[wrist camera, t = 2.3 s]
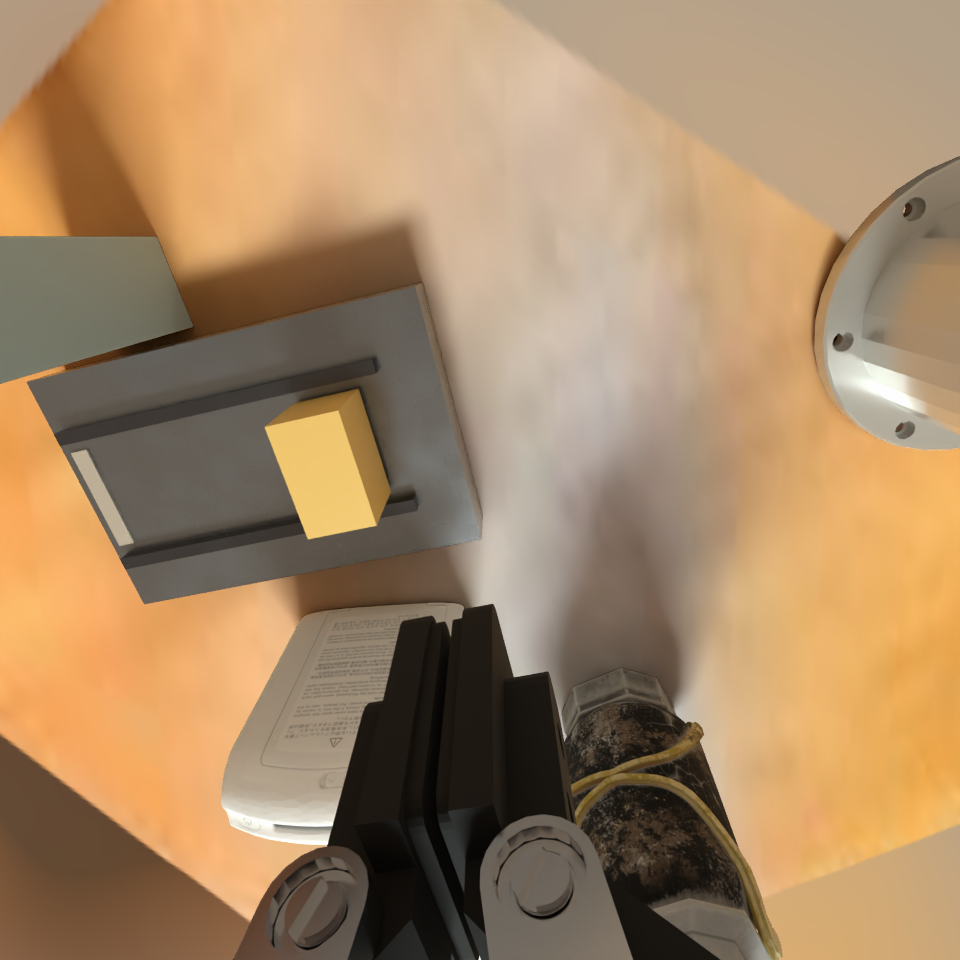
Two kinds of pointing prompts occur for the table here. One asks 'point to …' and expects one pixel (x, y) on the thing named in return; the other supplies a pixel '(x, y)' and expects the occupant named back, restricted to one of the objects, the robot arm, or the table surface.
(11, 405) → the table surface
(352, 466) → the block
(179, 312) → the post
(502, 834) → the robot arm
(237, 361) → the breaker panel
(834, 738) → the table surface
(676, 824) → the lantern
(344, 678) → the photo printer
